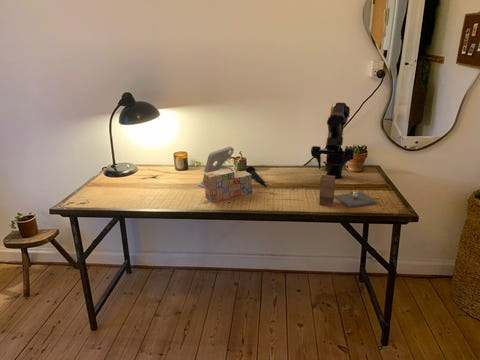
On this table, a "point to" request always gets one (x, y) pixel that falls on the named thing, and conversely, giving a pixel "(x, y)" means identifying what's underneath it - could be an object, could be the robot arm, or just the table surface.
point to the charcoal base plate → (355, 200)
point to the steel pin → (355, 195)
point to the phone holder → (220, 158)
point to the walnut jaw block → (327, 190)
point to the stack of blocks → (226, 184)
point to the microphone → (255, 175)
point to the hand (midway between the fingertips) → (330, 169)
